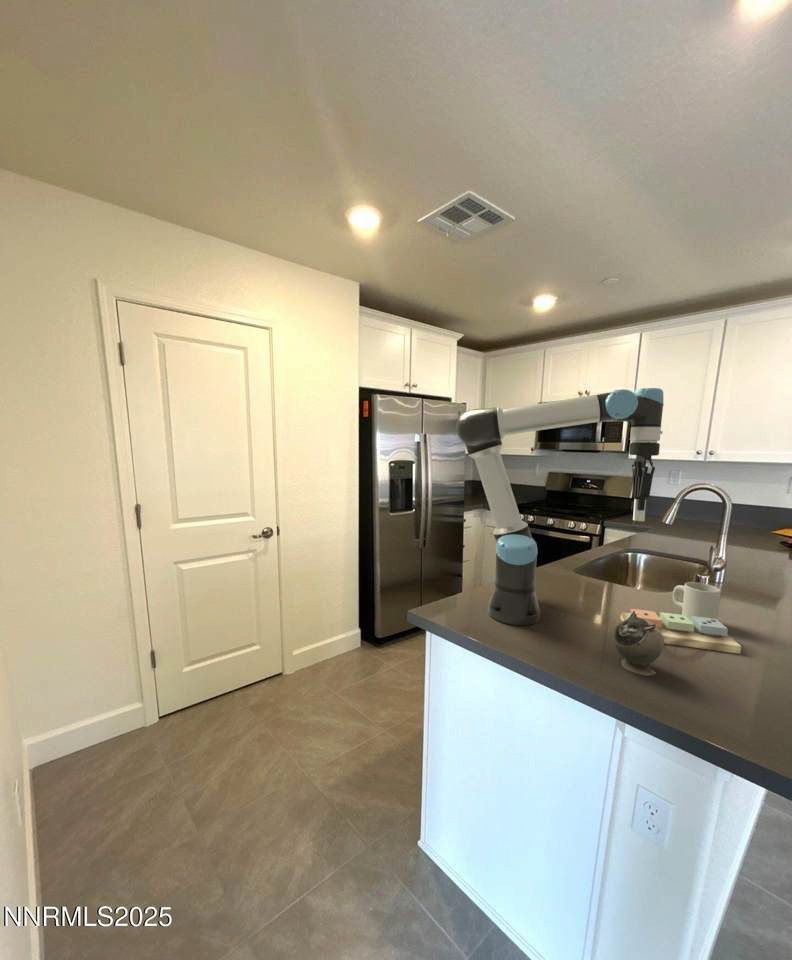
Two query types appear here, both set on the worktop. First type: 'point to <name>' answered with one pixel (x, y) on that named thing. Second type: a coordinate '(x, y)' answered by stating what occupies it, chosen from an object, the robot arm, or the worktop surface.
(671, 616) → the sage tile
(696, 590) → the mug
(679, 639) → the board
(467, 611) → the worktop surface
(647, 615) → the terracotta tile
